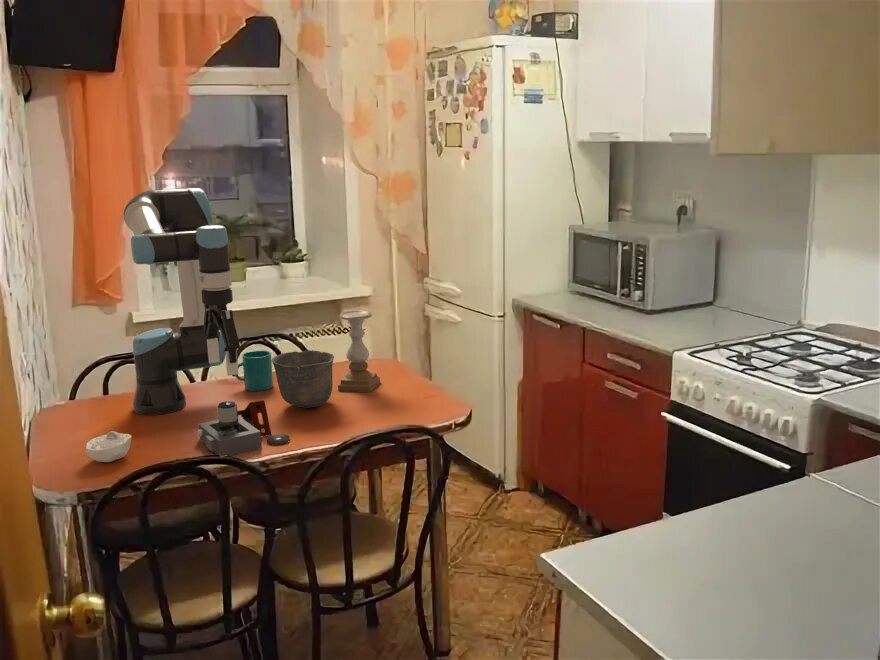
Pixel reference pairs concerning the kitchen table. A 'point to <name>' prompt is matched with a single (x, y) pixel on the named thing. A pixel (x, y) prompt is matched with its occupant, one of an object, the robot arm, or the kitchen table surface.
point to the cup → (257, 370)
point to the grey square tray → (230, 438)
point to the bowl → (304, 377)
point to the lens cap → (278, 439)
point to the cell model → (108, 446)
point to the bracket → (252, 414)
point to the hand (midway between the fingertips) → (223, 368)
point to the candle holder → (357, 356)
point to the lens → (228, 418)
